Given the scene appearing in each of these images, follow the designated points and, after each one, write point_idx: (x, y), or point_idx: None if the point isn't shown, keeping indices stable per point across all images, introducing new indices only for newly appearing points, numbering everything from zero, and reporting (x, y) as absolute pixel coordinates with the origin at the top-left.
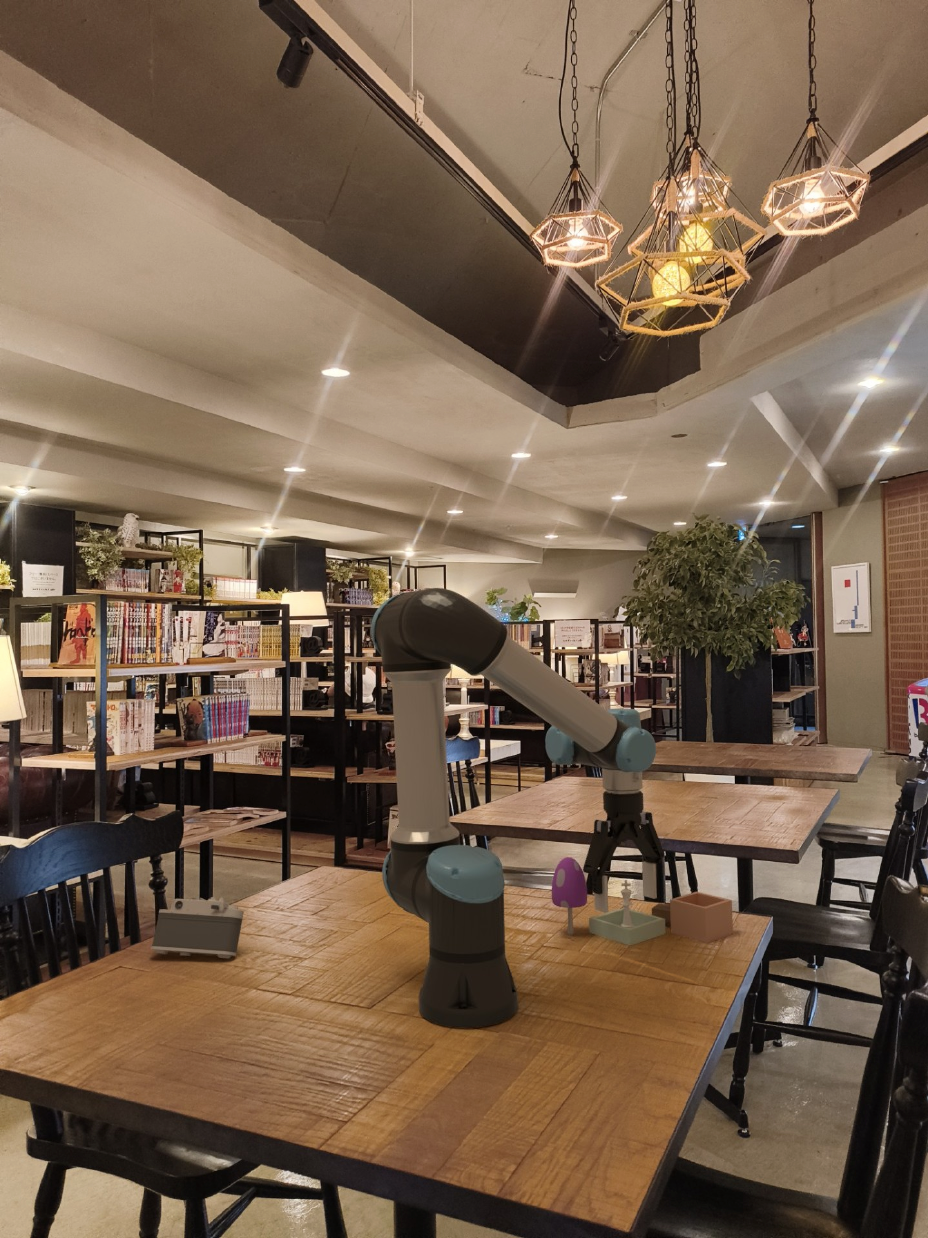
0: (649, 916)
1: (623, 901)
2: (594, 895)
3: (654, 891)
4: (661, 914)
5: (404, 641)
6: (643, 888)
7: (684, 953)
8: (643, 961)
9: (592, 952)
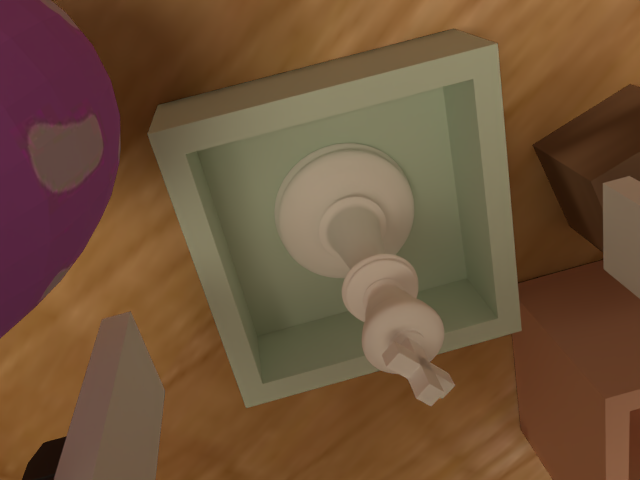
0: (492, 261)
1: (365, 292)
2: (82, 386)
3: (638, 290)
4: (595, 218)
5: None
6: (636, 208)
7: (411, 443)
8: (217, 461)
9: (60, 310)
